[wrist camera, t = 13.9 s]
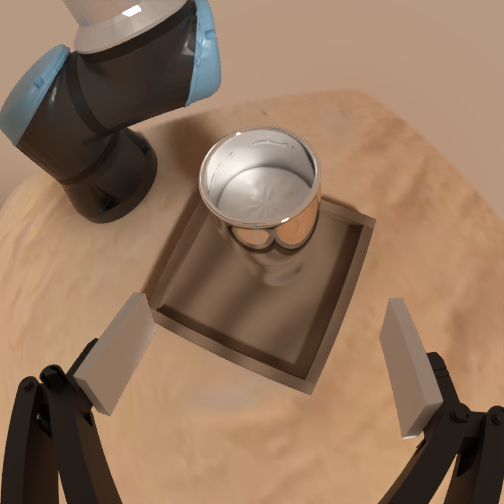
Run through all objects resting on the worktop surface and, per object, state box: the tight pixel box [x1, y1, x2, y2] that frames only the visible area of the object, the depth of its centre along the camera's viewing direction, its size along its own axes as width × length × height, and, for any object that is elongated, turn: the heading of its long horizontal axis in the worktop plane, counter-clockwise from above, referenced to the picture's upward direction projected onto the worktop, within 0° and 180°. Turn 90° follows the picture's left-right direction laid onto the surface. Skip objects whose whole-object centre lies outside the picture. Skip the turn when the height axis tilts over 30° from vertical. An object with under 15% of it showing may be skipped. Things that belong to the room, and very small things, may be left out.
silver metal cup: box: [198, 125, 322, 286], centre depth 22 cm, size 7×7×15 cm
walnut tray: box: [148, 197, 376, 395], centre depth 32 cm, size 20×20×2 cm
